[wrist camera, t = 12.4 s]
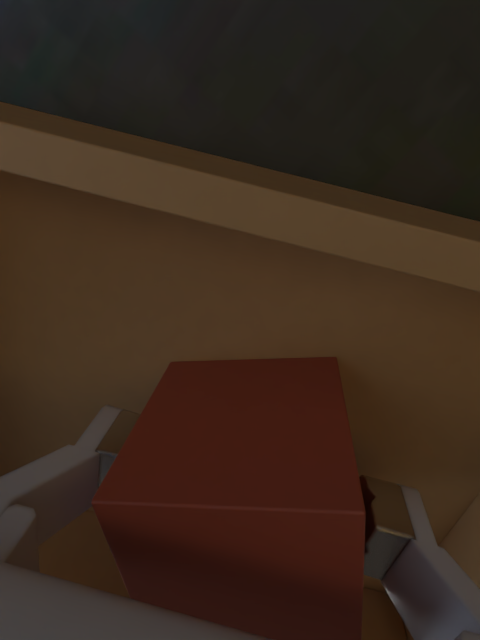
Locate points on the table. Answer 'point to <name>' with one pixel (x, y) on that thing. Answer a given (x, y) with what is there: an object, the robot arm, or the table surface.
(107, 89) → the table surface
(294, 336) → the tray
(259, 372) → the block
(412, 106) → the table surface
